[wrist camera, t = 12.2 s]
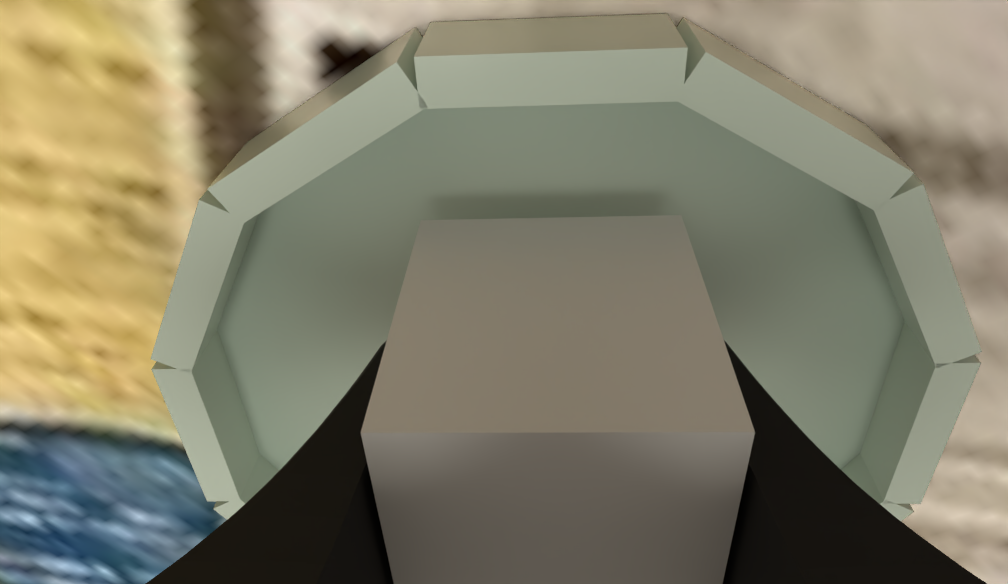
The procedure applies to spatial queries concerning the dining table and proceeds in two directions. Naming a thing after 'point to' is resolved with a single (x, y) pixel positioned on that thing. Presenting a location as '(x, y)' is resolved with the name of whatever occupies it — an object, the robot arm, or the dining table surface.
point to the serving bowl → (569, 193)
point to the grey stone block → (556, 408)
